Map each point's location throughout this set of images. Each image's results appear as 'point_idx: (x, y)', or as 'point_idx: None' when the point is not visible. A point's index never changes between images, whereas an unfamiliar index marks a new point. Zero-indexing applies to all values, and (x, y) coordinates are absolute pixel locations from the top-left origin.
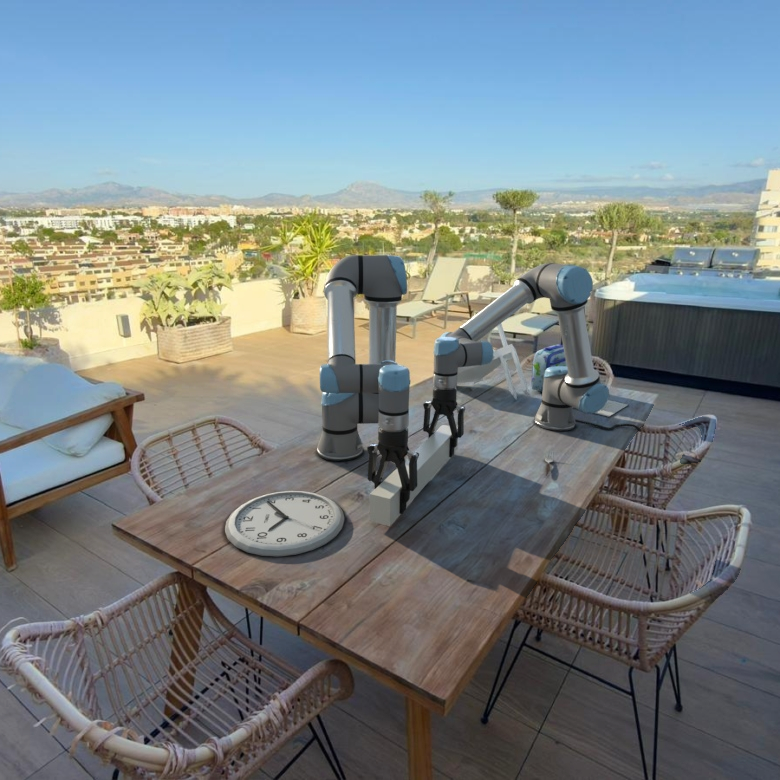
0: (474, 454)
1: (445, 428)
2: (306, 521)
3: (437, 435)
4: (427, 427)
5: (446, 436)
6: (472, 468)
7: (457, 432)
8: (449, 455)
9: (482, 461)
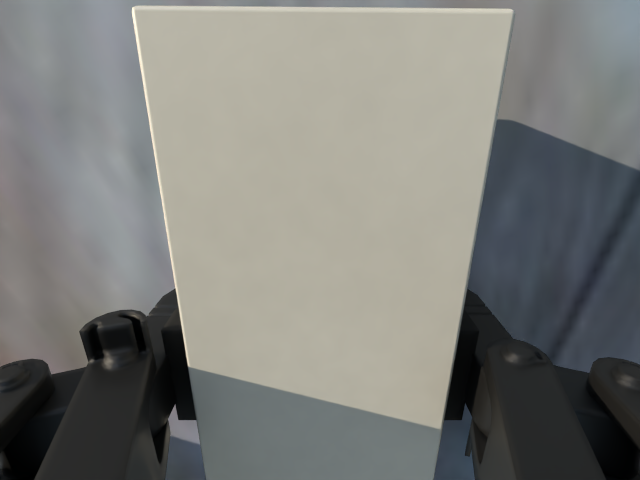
0: (542, 26)
1: (277, 201)
2: None
3: (277, 478)
4: (30, 445)
5: (396, 463)
6: (542, 279)
7: (560, 394)
8: None
9: (612, 140)
